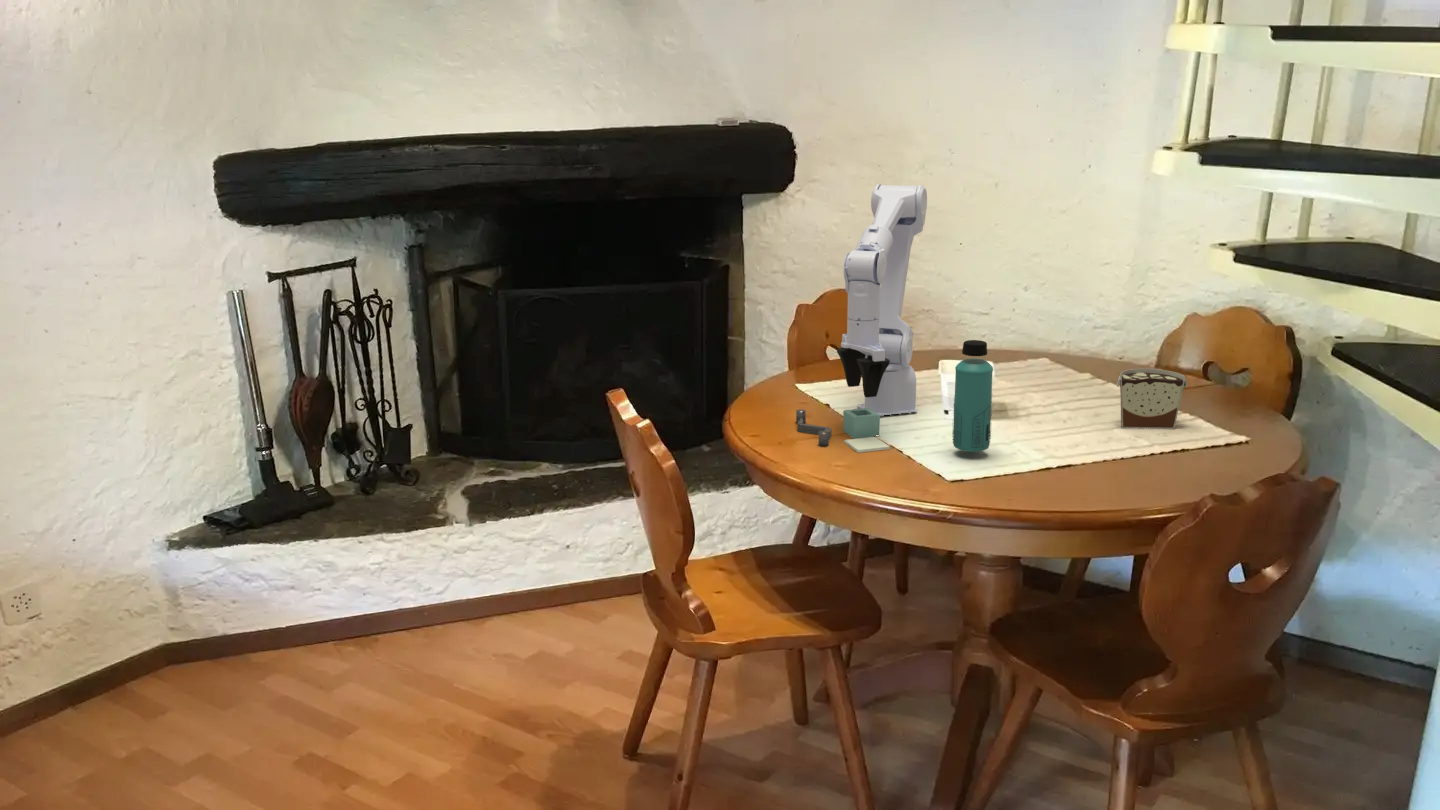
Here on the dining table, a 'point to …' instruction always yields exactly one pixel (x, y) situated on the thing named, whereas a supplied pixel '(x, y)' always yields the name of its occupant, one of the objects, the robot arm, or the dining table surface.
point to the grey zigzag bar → (813, 428)
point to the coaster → (866, 444)
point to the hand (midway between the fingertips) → (861, 391)
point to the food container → (1150, 398)
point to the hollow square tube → (861, 423)
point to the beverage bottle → (972, 399)
